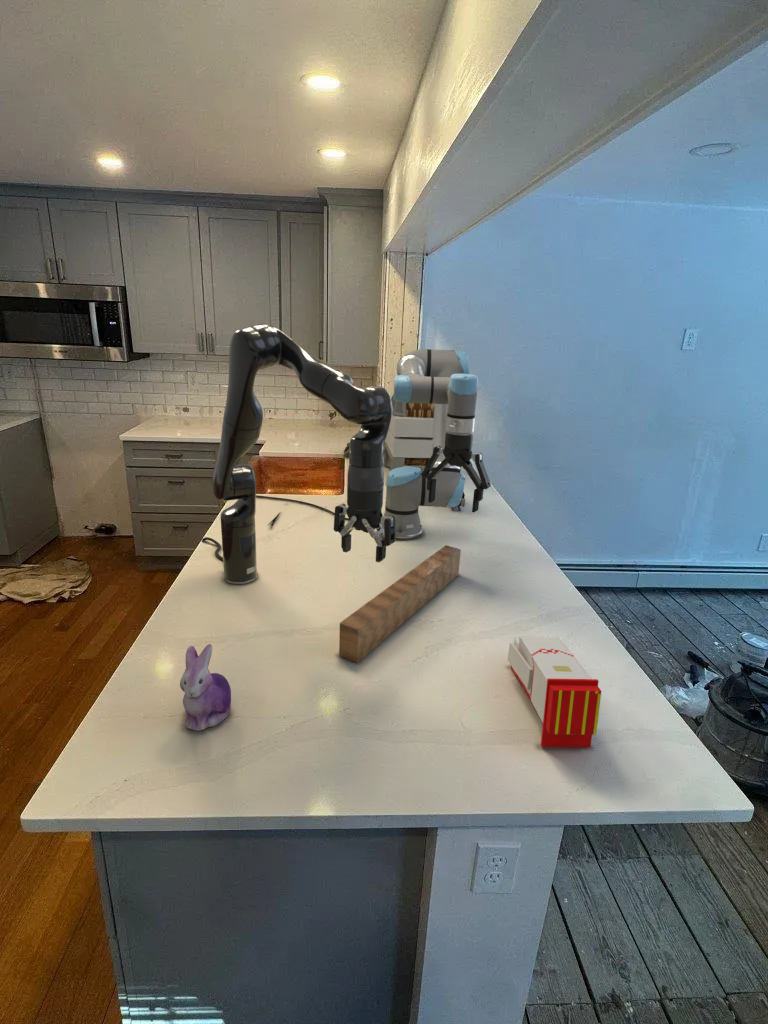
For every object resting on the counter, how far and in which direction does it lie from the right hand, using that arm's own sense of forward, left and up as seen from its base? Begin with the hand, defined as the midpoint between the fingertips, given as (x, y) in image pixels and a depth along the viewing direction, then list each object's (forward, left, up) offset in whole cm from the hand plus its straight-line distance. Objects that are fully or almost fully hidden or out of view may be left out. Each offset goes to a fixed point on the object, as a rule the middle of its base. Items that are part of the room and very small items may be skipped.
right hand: (452, 506), depth 161 cm
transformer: (-86, +72, -22) cm, 115 cm away
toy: (+51, -25, -22) cm, 62 cm away
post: (+7, -23, -22) cm, 33 cm away
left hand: (+14, -44, +1) cm, 47 cm away
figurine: (+14, -81, -22) cm, 86 cm away
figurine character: (-43, +50, -22) cm, 69 cm away
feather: (-73, -14, -22) cm, 77 cm away
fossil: (-133, +69, -22) cm, 151 cm away
